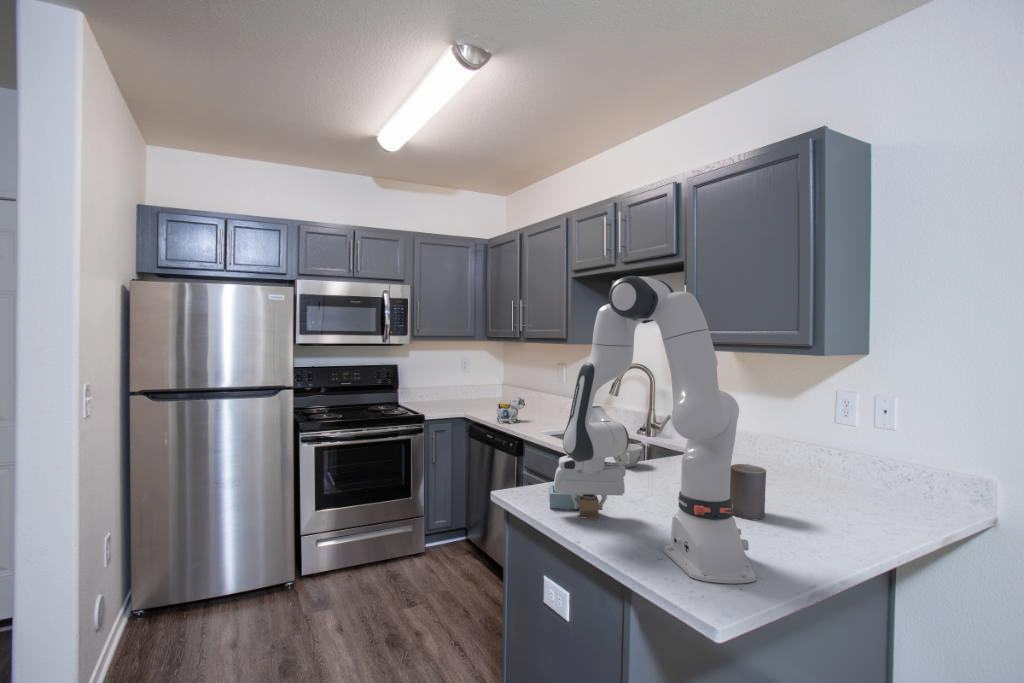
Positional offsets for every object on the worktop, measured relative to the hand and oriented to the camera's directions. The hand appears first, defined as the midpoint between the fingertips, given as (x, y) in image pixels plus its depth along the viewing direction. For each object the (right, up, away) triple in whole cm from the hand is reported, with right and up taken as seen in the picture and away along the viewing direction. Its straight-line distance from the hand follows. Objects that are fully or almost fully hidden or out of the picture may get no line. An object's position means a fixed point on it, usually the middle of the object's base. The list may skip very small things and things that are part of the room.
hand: (588, 509), depth 152 cm
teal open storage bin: (-4, -1, +12) cm, 13 cm away
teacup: (+23, -2, +57) cm, 62 cm away
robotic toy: (-23, 0, +157) cm, 159 cm away
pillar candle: (+47, -3, +3) cm, 47 cm away
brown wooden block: (0, -2, 0) cm, 2 cm away
